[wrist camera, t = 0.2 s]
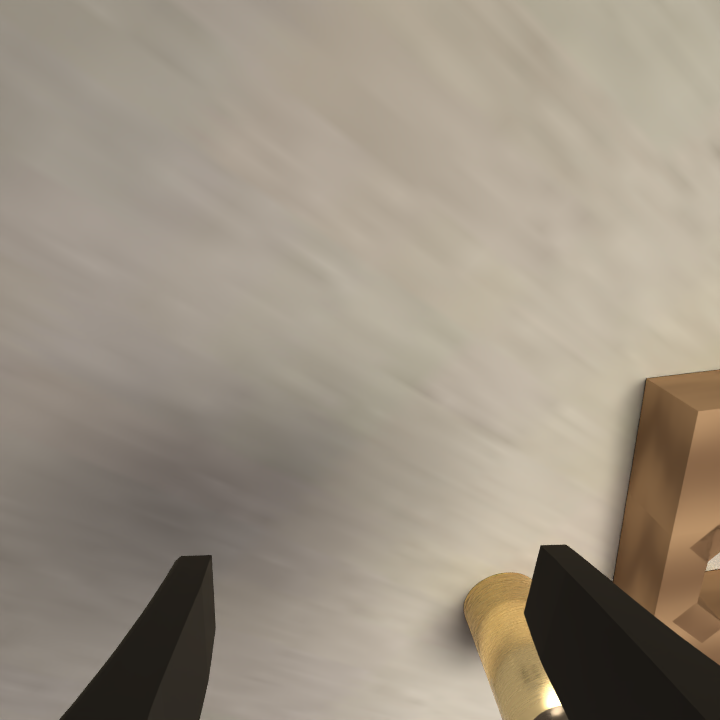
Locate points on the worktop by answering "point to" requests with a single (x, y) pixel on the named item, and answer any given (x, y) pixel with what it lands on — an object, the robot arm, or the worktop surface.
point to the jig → (676, 509)
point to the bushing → (510, 649)
